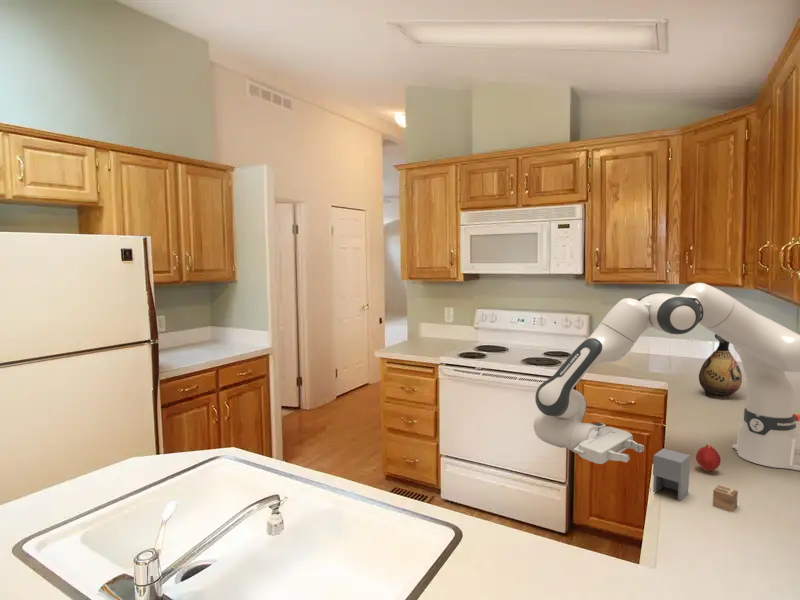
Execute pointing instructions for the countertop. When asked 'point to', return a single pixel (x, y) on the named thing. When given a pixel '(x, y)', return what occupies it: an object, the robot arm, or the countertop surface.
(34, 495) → the countertop surface
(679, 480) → the grey block
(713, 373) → the ceramic jug
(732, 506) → the letter block
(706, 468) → the pomegranate
